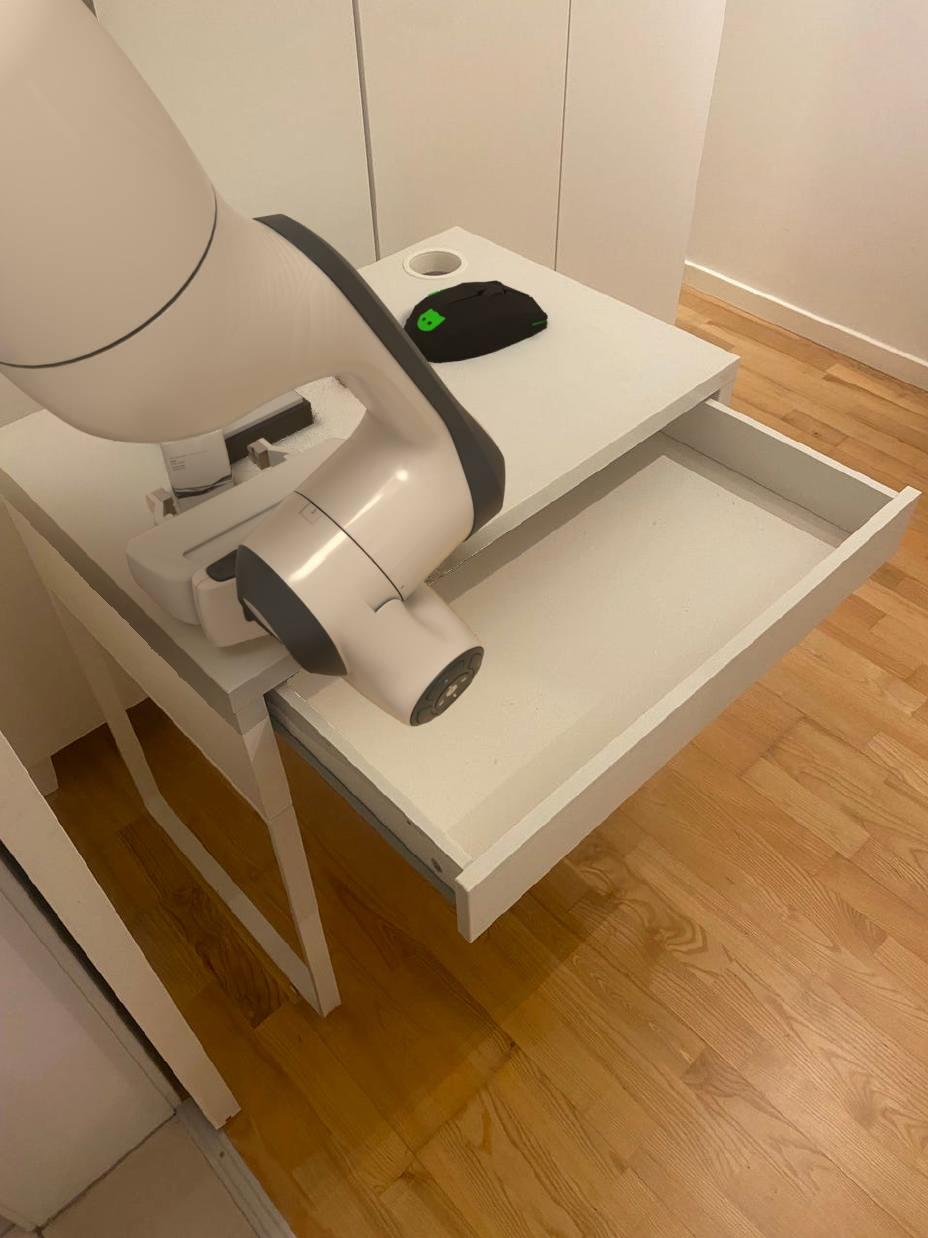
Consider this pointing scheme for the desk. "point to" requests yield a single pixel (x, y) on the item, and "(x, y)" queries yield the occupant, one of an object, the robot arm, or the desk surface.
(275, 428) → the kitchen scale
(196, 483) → the ink box
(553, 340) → the desk surface
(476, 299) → the computer mouse
